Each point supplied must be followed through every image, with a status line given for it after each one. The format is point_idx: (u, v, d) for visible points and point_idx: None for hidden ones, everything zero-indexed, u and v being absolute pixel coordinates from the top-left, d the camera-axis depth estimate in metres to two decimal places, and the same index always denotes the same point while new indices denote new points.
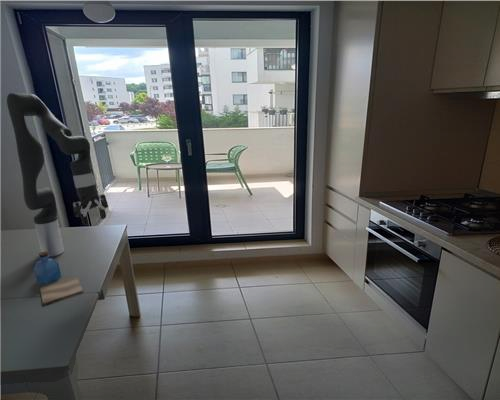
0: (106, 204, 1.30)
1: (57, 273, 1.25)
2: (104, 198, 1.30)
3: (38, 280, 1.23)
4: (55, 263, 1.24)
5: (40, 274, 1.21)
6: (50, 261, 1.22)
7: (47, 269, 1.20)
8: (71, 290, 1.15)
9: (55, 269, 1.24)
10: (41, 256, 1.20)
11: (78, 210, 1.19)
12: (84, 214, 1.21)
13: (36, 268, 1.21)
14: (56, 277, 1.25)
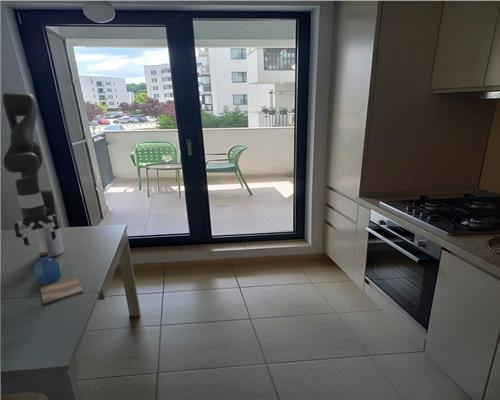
0: (57, 226, 1.21)
1: (57, 273, 1.25)
2: (54, 219, 1.20)
3: (38, 280, 1.23)
4: (55, 263, 1.24)
5: (40, 274, 1.21)
6: (50, 261, 1.22)
7: (47, 269, 1.20)
8: (71, 290, 1.15)
9: (55, 269, 1.24)
10: (41, 256, 1.20)
11: (16, 231, 1.13)
12: (24, 235, 1.15)
13: (36, 268, 1.21)
14: (56, 277, 1.25)
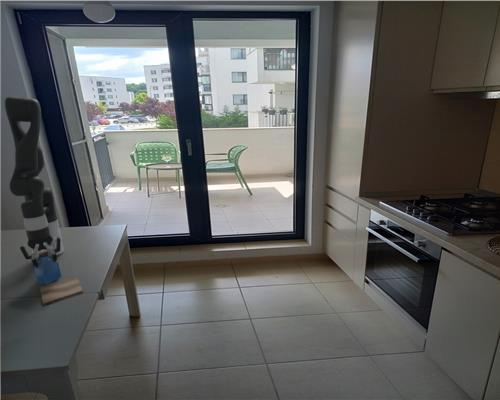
0: (58, 248, 1.23)
1: (57, 273, 1.25)
2: (58, 242, 1.23)
3: (38, 280, 1.22)
4: (55, 263, 1.24)
5: (40, 274, 1.21)
6: (50, 261, 1.22)
7: (47, 268, 1.20)
8: (71, 290, 1.15)
9: (55, 269, 1.24)
10: (41, 256, 1.20)
11: (24, 254, 1.16)
12: (33, 257, 1.19)
13: (36, 268, 1.21)
14: (56, 277, 1.25)
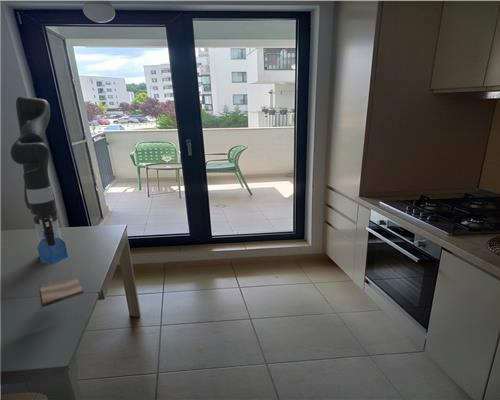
0: (45, 233, 1.04)
1: (49, 258, 1.09)
2: (43, 226, 1.03)
3: None
4: (47, 247, 1.07)
5: None
6: (46, 242, 1.08)
7: (39, 247, 1.09)
8: (71, 290, 1.15)
9: (47, 253, 1.08)
10: None
11: (41, 221, 1.12)
12: None
13: None
14: (48, 261, 1.09)
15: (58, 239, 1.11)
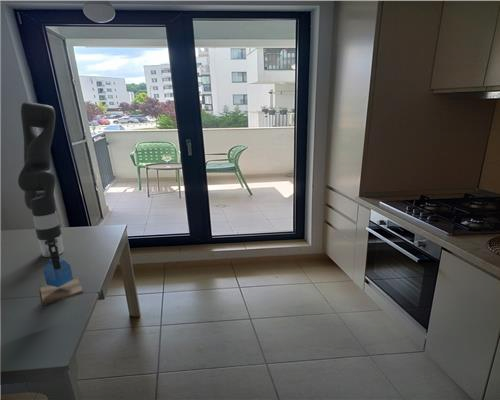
0: (51, 258, 1.07)
1: (54, 281, 1.11)
2: (49, 251, 1.06)
3: None
4: (53, 270, 1.10)
5: None
6: (51, 265, 1.11)
7: (45, 270, 1.11)
8: (71, 290, 1.15)
9: (52, 276, 1.11)
10: None
11: None
12: (49, 252, 1.14)
13: None
14: (54, 284, 1.12)
15: (63, 262, 1.14)
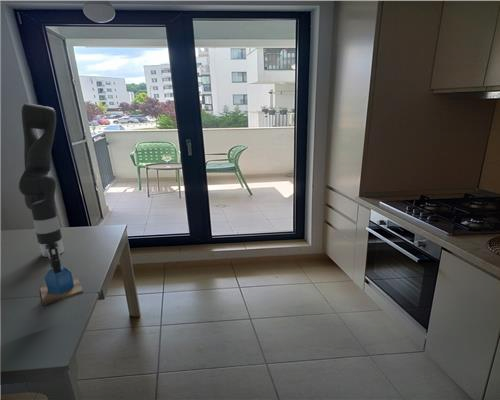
0: (51, 261, 1.06)
1: (56, 289, 1.12)
2: (49, 254, 1.06)
3: None
4: (54, 278, 1.11)
5: None
6: (53, 273, 1.12)
7: (47, 277, 1.12)
8: (71, 290, 1.15)
9: (54, 284, 1.12)
10: None
11: None
12: None
13: None
14: (55, 292, 1.13)
15: (65, 269, 1.15)
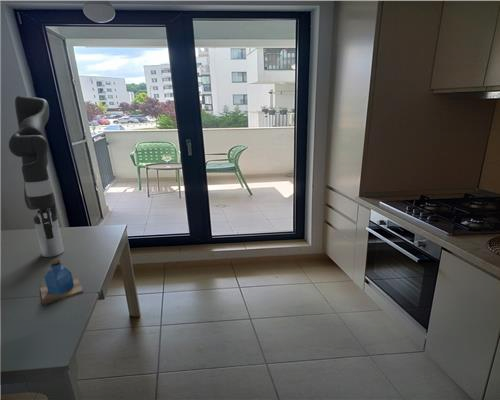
0: (43, 226, 1.02)
1: (56, 289, 1.12)
2: (41, 218, 1.02)
3: None
4: (54, 278, 1.11)
5: None
6: (53, 273, 1.12)
7: (47, 277, 1.12)
8: (71, 290, 1.15)
9: (54, 284, 1.12)
10: None
11: None
12: None
13: None
14: (55, 292, 1.13)
15: (65, 269, 1.15)
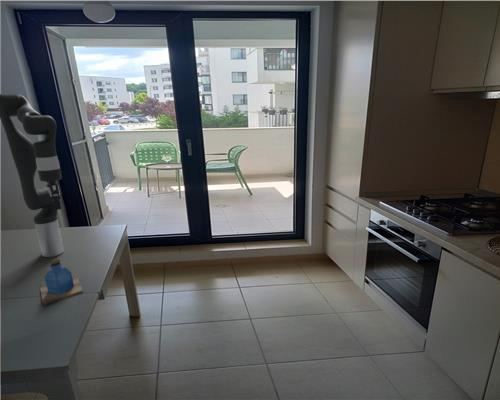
0: (52, 197, 1.14)
1: (56, 289, 1.12)
2: (50, 190, 1.14)
3: None
4: (54, 278, 1.11)
5: None
6: (53, 273, 1.12)
7: (47, 277, 1.12)
8: (71, 290, 1.15)
9: (54, 284, 1.12)
10: None
11: None
12: None
13: None
14: (55, 292, 1.13)
15: (65, 269, 1.15)
